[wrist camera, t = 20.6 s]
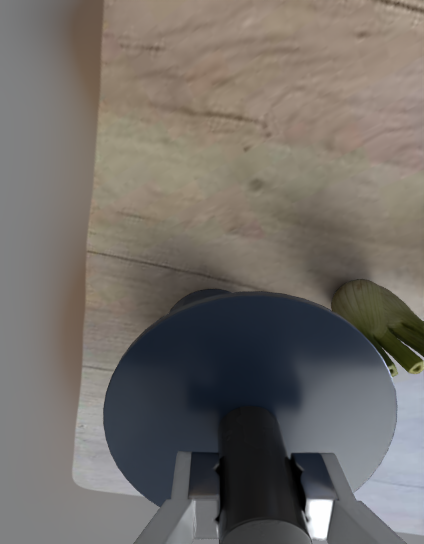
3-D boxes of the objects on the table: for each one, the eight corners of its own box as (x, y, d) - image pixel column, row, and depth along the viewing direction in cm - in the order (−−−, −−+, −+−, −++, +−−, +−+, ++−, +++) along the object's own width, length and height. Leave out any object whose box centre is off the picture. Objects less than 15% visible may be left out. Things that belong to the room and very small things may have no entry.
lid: (62, 339, 12) (-45, 450, 7) (352, 241, 10) (472, 294, 6) (172, 527, 15) (153, 690, 10) (401, 471, 14) (503, 628, 9)
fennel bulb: (321, 313, 32) (379, 388, 21) (330, 272, 31) (398, 329, 19) (371, 316, 32) (456, 393, 21) (383, 276, 31) (482, 334, 20)
